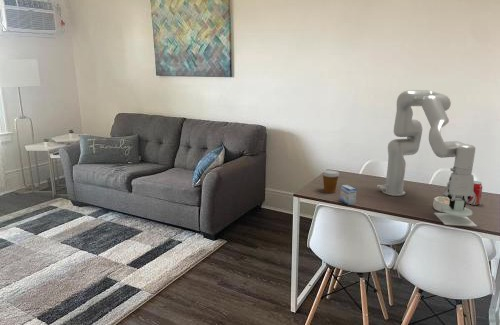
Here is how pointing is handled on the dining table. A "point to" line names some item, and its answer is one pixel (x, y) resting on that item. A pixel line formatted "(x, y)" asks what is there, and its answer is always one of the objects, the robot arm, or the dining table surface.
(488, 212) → the dining table surface
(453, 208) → the robot arm
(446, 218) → the mat
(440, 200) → the bowl
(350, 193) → the medicine box
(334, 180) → the disposable coffee cup
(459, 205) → the lid
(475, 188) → the soda can
